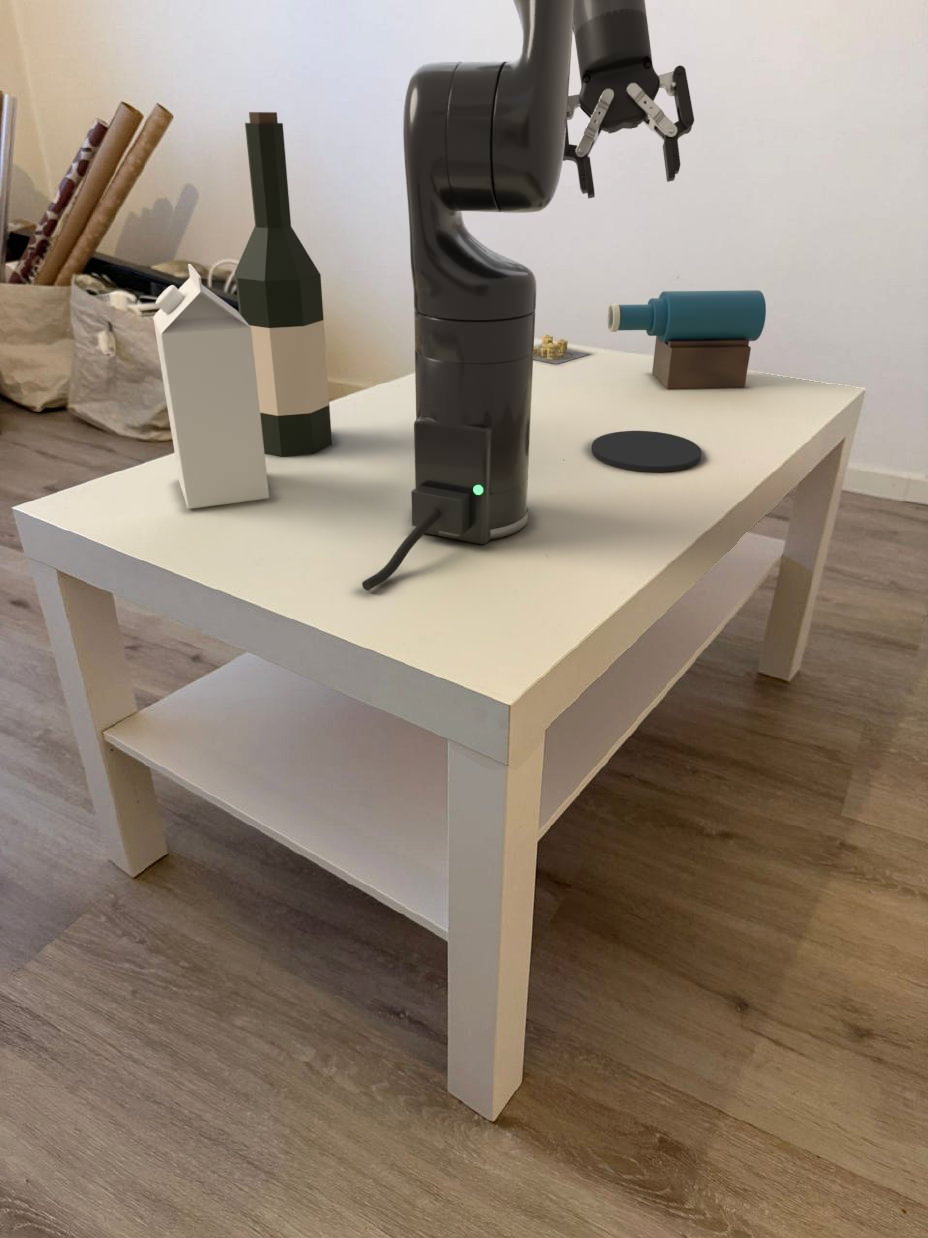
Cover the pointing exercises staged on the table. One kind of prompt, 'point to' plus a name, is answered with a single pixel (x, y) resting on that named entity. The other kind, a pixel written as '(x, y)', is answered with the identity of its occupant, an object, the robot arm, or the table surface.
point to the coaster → (646, 451)
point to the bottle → (694, 315)
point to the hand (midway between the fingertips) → (631, 187)
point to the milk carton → (210, 396)
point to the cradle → (701, 363)
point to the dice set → (555, 351)
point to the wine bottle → (282, 306)
